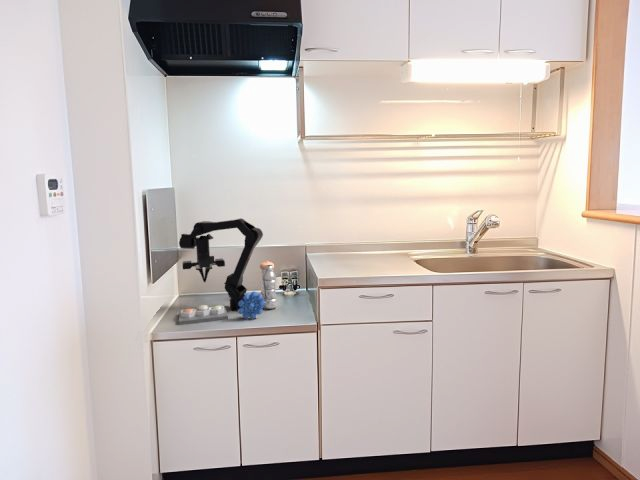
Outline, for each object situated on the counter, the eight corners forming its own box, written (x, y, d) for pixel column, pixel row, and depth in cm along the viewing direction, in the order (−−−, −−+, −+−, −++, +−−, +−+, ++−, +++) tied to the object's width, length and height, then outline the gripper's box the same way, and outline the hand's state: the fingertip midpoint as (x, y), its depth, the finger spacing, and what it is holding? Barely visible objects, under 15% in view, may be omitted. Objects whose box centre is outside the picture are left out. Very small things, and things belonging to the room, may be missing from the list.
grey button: (207, 309, 191) (207, 304, 190) (207, 312, 187) (207, 306, 187) (198, 310, 190) (197, 305, 189) (198, 313, 186) (198, 307, 186)
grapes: (265, 314, 190) (264, 288, 188) (266, 319, 184) (265, 292, 182) (238, 316, 188) (237, 289, 187) (238, 321, 182) (236, 294, 180)
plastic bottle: (265, 311, 195) (264, 267, 192) (261, 307, 201) (259, 265, 198) (279, 309, 198) (277, 266, 195) (274, 305, 204) (273, 263, 201)
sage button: (221, 310, 193) (221, 305, 192) (222, 312, 189) (221, 307, 189) (212, 311, 192) (212, 306, 191) (212, 313, 188) (212, 308, 187)
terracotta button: (193, 313, 189) (193, 307, 189) (193, 316, 185) (193, 310, 185) (183, 314, 188) (183, 308, 188) (183, 317, 184) (183, 311, 184)
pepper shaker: (261, 296, 218) (259, 259, 215) (275, 296, 219) (274, 259, 216) (260, 301, 211) (259, 262, 208) (275, 300, 212) (274, 261, 209)
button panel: (225, 309, 198) (224, 302, 198) (228, 319, 185) (227, 311, 185) (179, 314, 192) (178, 307, 192) (179, 324, 179) (178, 316, 179)
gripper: (182, 253, 188) (184, 288, 191) (225, 250, 194) (227, 284, 197) (181, 249, 199) (183, 282, 201) (222, 246, 205) (224, 278, 207)
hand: (204, 281), depth 201 cm, fingers closed
